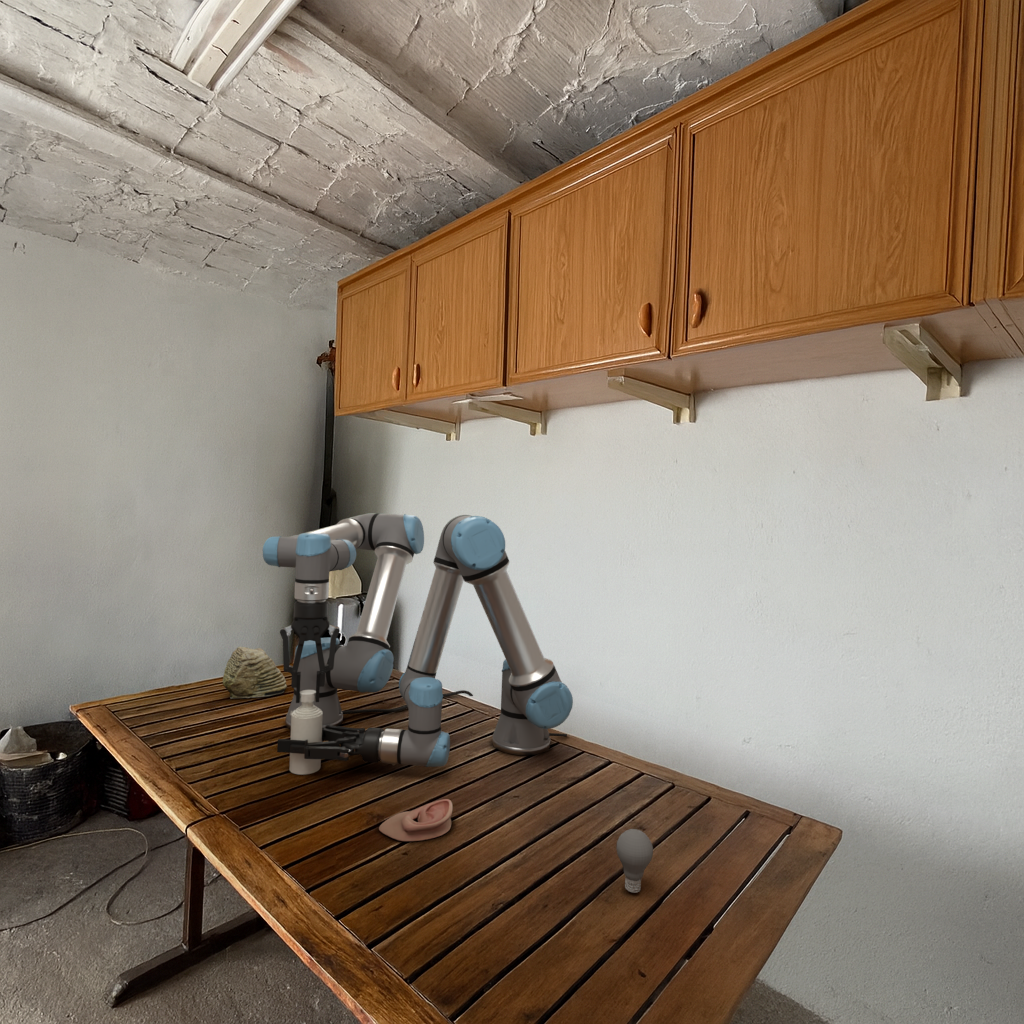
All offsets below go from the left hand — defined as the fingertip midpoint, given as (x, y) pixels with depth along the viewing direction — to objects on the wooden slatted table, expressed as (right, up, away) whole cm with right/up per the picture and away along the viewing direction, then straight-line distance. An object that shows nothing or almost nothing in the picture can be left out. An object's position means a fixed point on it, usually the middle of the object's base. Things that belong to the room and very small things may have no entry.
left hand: (307, 700), depth 147 cm
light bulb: (+68, -20, -41) cm, 82 cm away
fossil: (-33, -14, +51) cm, 62 cm away
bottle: (-1, -16, 0) cm, 16 cm away
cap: (0, +2, 0) cm, 2 cm away
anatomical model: (+29, -18, -24) cm, 41 cm away
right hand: (-5, -9, +1) cm, 11 cm away
